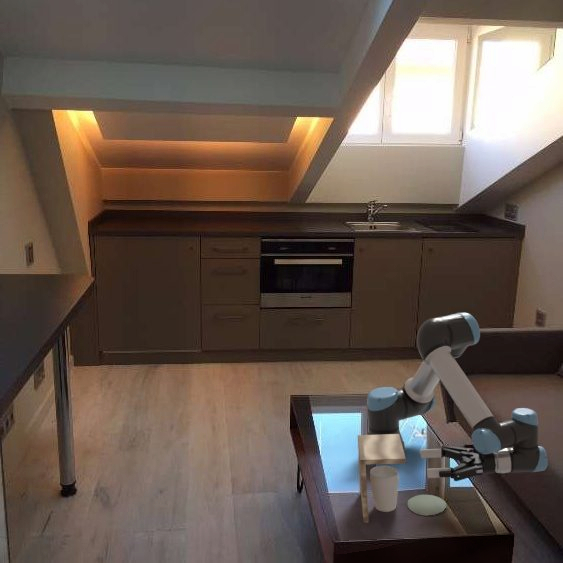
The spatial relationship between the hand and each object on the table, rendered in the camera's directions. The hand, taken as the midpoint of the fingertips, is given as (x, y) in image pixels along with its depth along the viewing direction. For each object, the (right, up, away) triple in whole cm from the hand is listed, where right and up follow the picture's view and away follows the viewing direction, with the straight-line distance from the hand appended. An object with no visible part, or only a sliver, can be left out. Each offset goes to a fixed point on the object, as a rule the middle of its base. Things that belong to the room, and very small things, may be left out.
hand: (423, 463), depth 194 cm
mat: (+2, -14, +3) cm, 15 cm away
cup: (-11, -15, +4) cm, 19 cm away
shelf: (-11, -15, +4) cm, 19 cm away
